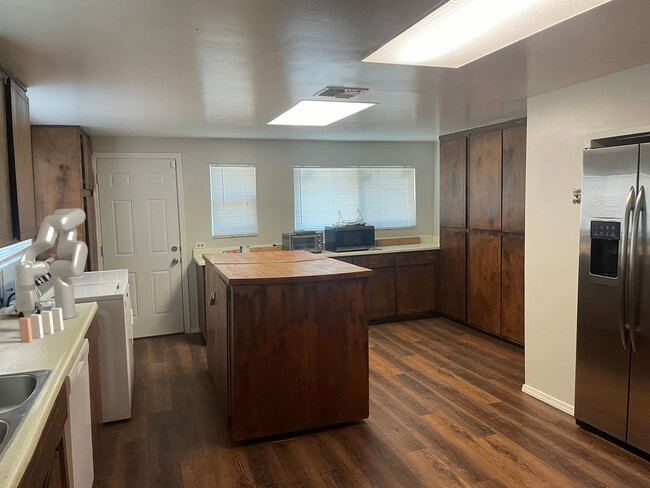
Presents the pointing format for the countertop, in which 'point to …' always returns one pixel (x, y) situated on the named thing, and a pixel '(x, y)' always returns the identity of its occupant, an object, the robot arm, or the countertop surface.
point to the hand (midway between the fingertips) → (29, 322)
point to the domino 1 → (27, 314)
